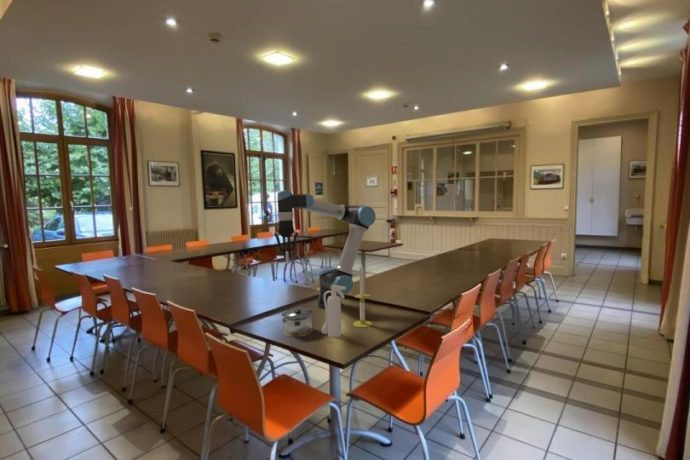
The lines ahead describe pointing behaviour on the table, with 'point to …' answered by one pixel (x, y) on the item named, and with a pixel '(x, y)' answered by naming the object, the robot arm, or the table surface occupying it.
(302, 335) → the trivet
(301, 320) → the pot
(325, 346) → the table surface
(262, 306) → the table surface
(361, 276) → the candle
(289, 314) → the lid
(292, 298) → the table surface
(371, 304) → the table surface
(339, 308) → the white extinguisher
